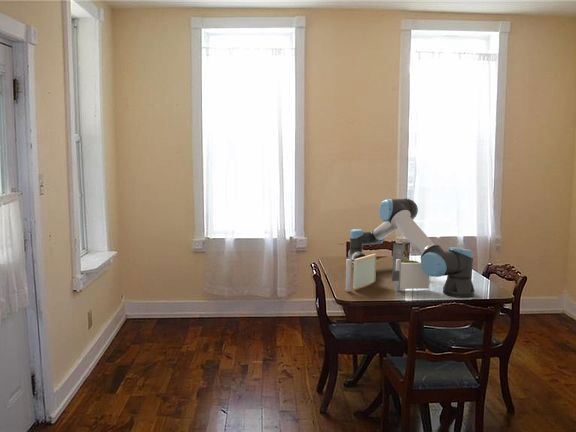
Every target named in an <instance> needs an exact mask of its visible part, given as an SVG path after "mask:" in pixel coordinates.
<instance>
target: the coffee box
mask: <svg viewBox="0 0 576 432" xmlns="http://www.w3.org/2000/svg"><path fill="white" fill-rule="evenodd" d="M410 249H411V243H410V242H409V241H402V240H401V241H397V242H393V244H392V269H391V271H396V259H401V263H402V261H407V260H410V253H411V252H410Z"/></svg>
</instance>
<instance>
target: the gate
mask: <svg viewBox="0 0 576 432" xmlns="http://www.w3.org/2000/svg"><path fill="white" fill-rule="evenodd" d="M376 273H377V253H372V254H369V255H366V256H364V257H361V258H357V259H354V265H353V281H352V282H353V284H352V289H355V290H356V289H359V288H361V287H364V286H367V285H369V284H373V283H375V282H376V277H377V276H376Z"/></svg>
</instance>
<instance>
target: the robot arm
mask: <svg viewBox="0 0 576 432" xmlns="http://www.w3.org/2000/svg"><path fill="white" fill-rule="evenodd" d="M418 208H419V207H418V205H417V203H416V202H415V201H414V200H413V199H410V198H389V199H384V200H382V202H381V203H380V205H379V209H378V215H379V218H380V220H381V221H382V223H381V224H380V225H378V226H377V227H375V229H373V230H371V231H364V230H363V229H361V228H353V229H351V230H350V233H349V250H348V254H347V256H348V259H351V265H353V266H354V259H357V258H361V257H364V256H367V255H366V254H365V253H363V247H364V246H366V245H367V246H368V245H379V244H383V242H384V241H385V239H386V238H387V237H388V236H389V235H390V234H392V233H393V232H394V231H396V230H397V229H398V230H399V231H400V232H401V233H402V234H403V237H405V238H406V239H407V242H410V245H412V247H413V248H414V249H415V250H416V252H417V253H418V254H419V255H420V263H421V265H422V269H423V271H424V272H425V273H426V274H427V275H429V277H431V278H432V277H433V278H434V277H435V278H437V277H439V278H440V277H445V276H447V277H446V280H445V282H444V285H443V287H442V293H443V294H444V295H446V296H448V297H454V298H459V299H460V298H461V299H463V298H473V297H475V293H476V292H475V287H474V283H473V280H472V279H473V265H474V264H473V263H474V252H473V251H472V250H471V249H468V248H463V247H456V246H449V247H448V250H447V251H446V250H444V249H443V247H442V246H440V244H435V243H434V242H433V241H432V240H431V238H429V237H428V236H427V234H426V233H425V232H424V230H423V229H421V227H420V226H419V225H418V224H417V223H416V222H415V221H414V219H416V217H417V215H418V213H419V209H418ZM472 296H473V297H472Z"/></svg>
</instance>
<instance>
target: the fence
mask: <svg viewBox="0 0 576 432" xmlns="http://www.w3.org/2000/svg"><path fill="white" fill-rule="evenodd" d="M345 261H346V262H345V287H344V288H345V292H351V283H352V282H351V280H352V279H351V277H352V261H351V259H350V258H347V259H346V260H345ZM391 281H392V282H394V291H395V292H400V290H403V289H404V290H408V289H409V290H411V289H412V290H417V289H422V290H423V289H426V290H427V289H430V288H429V287H430V276H429V275H427V274H426V273H425V272H424V271H423V269H422V265H421V262H419V263H401V259H396V270H391Z"/></svg>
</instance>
